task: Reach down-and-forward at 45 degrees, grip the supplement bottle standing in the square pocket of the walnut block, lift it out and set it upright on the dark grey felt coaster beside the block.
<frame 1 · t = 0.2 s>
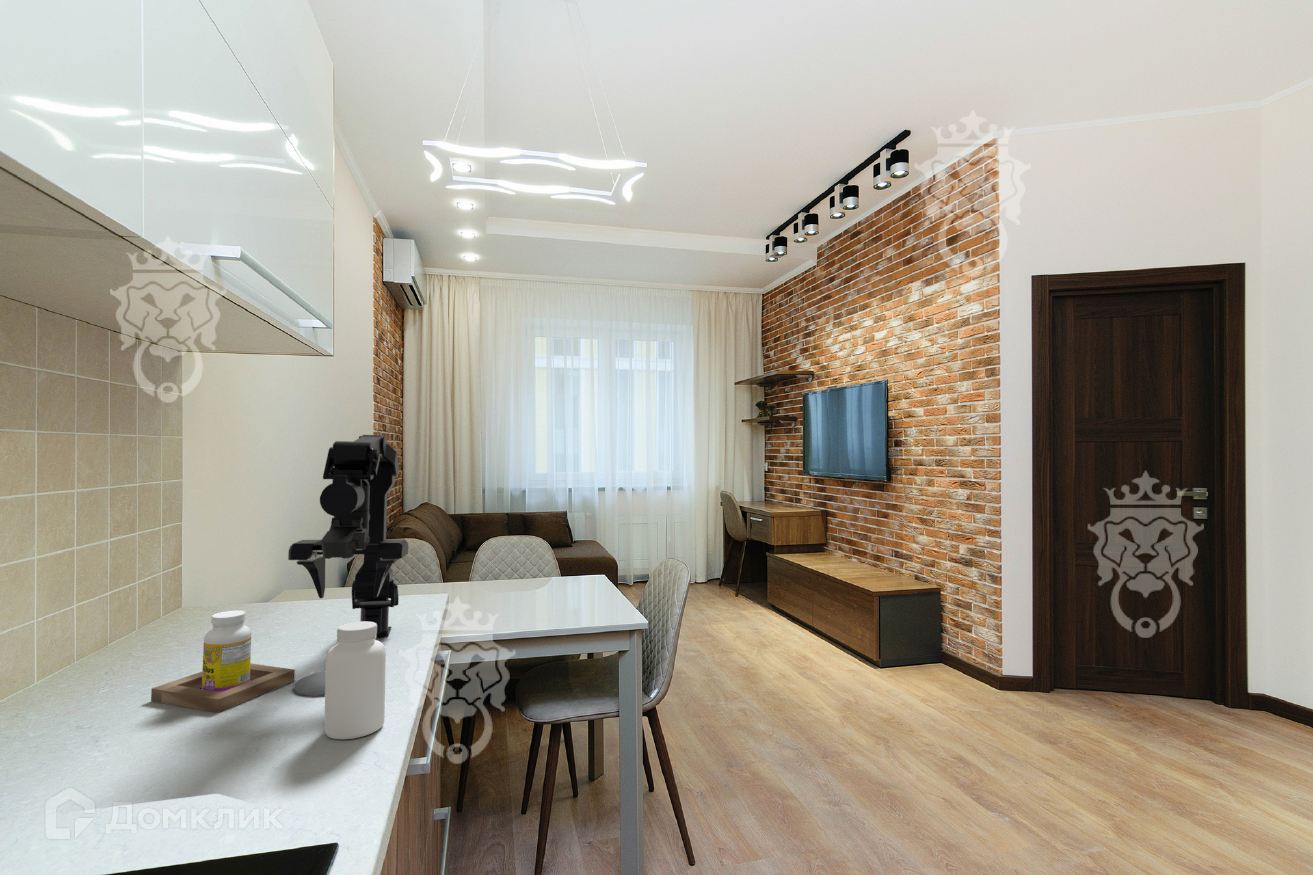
hand: (349, 597, 111), 14 cm above the counter, tool pointing down, fingers open, 9 cm apart
pocket block: (225, 690, 103), on the counter
coaster: (330, 683, 107), on the counter
pill bottle: (354, 730, 90), on the counter
supplement bottle: (225, 691, 103), resting in pocket block
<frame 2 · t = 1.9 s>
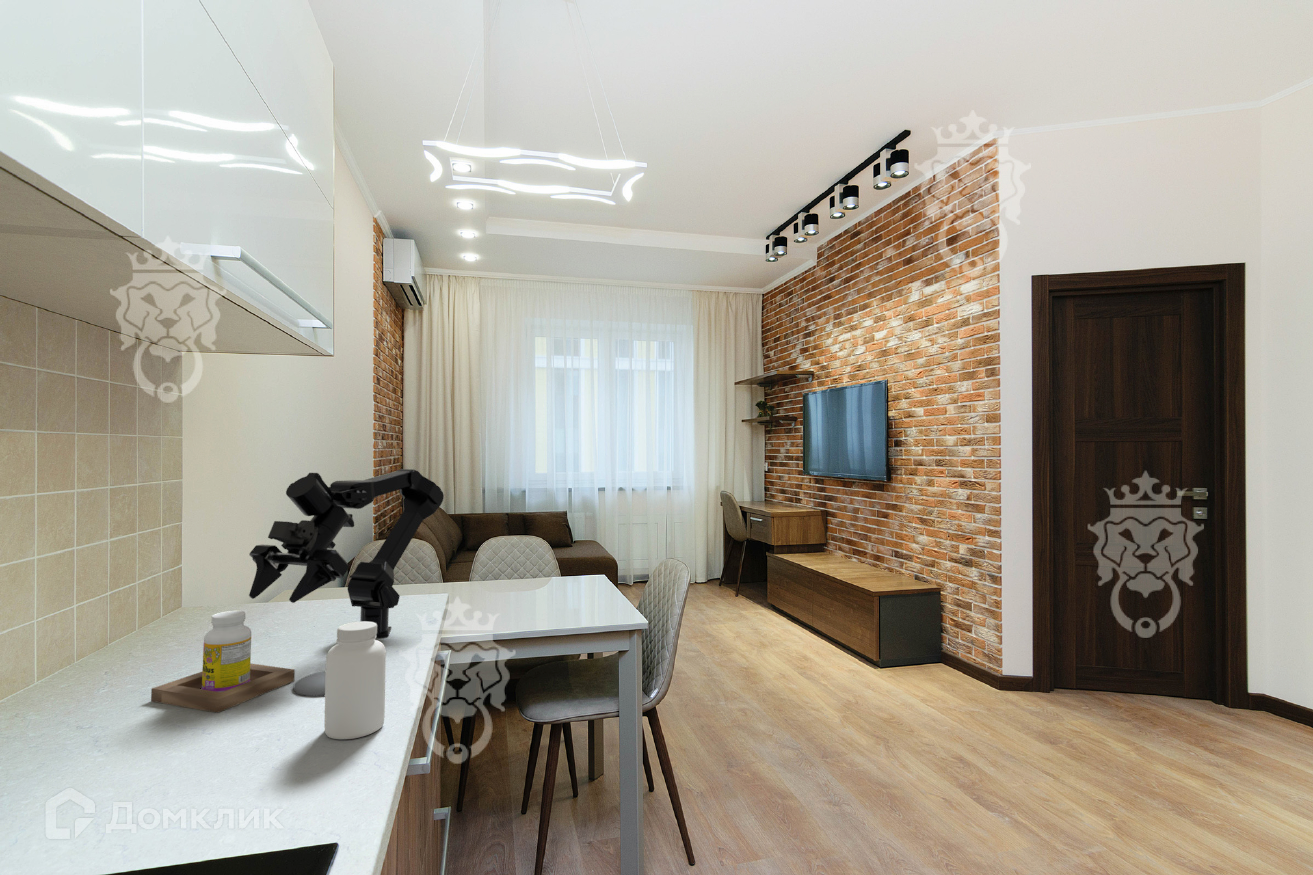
hand: (270, 599, 111), 13 cm above the counter, tool tilted 45°, fingers open, 9 cm apart
nothing on the counter moved.
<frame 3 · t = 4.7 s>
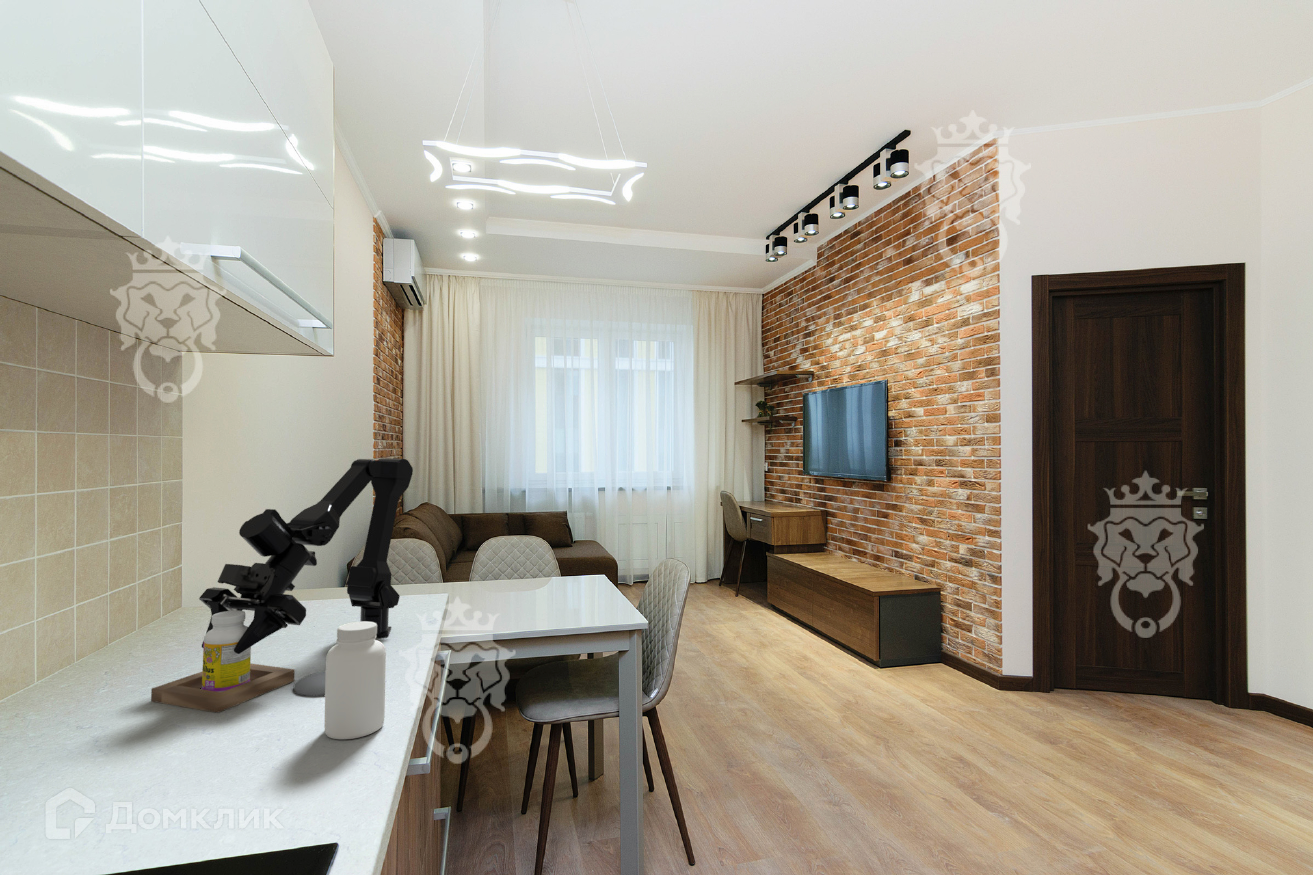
hand: (219, 650, 102), 7 cm above the counter, tool tilted 45°, fingers closed on supplement bottle, 7 cm apart
supplement bottle: (225, 691, 103), resting in pocket block, touching gripper
everything else where it was.
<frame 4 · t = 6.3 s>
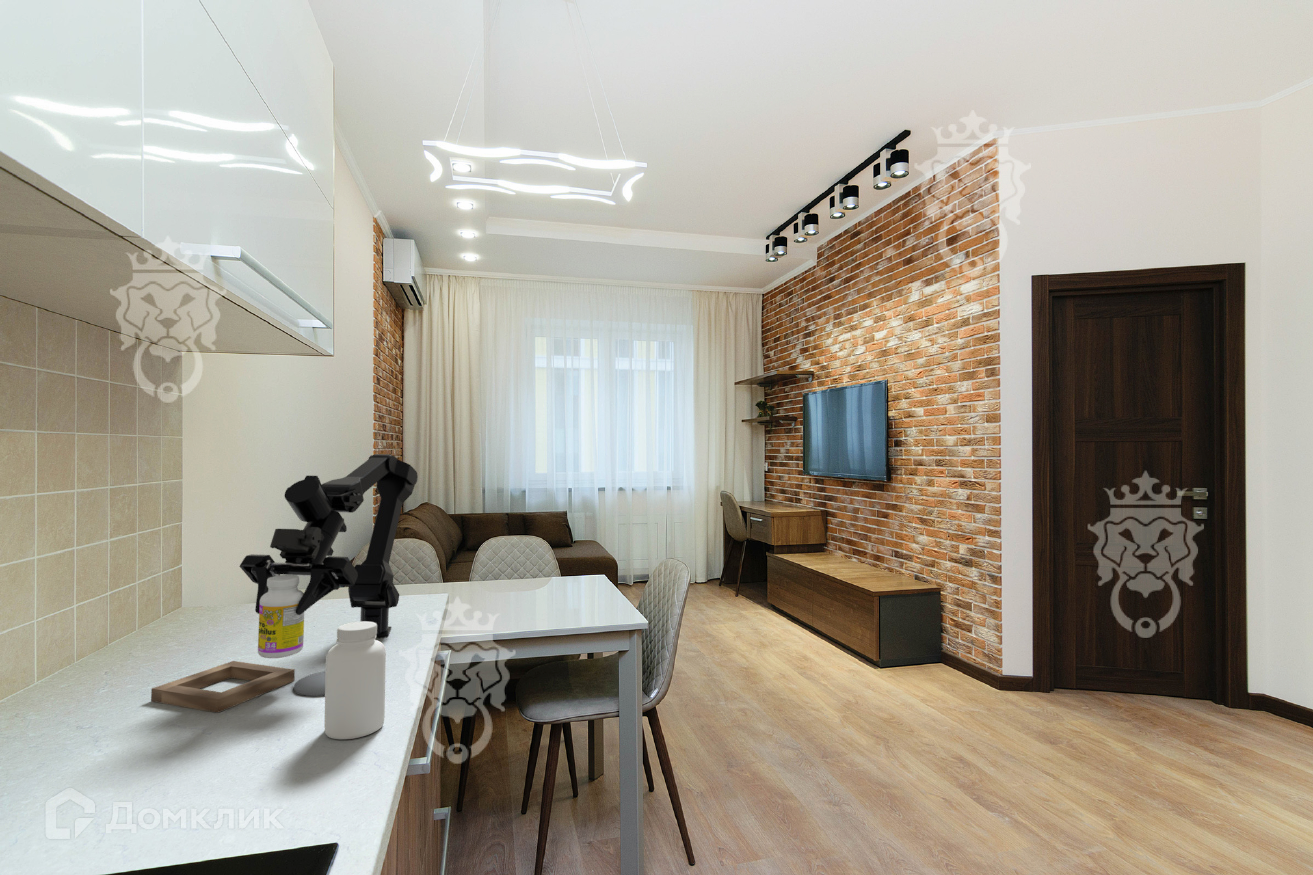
hand: (277, 613, 104), 13 cm above the counter, tool tilted 45°, fingers closed on supplement bottle, 7 cm apart
supplement bottle: (280, 654, 105), point 6 cm above the counter, touching gripper
everything else where it was.
when the fingers open (8 cm above the counter, at t = 8.2 s): supplement bottle stays where it is, resting on coaster.
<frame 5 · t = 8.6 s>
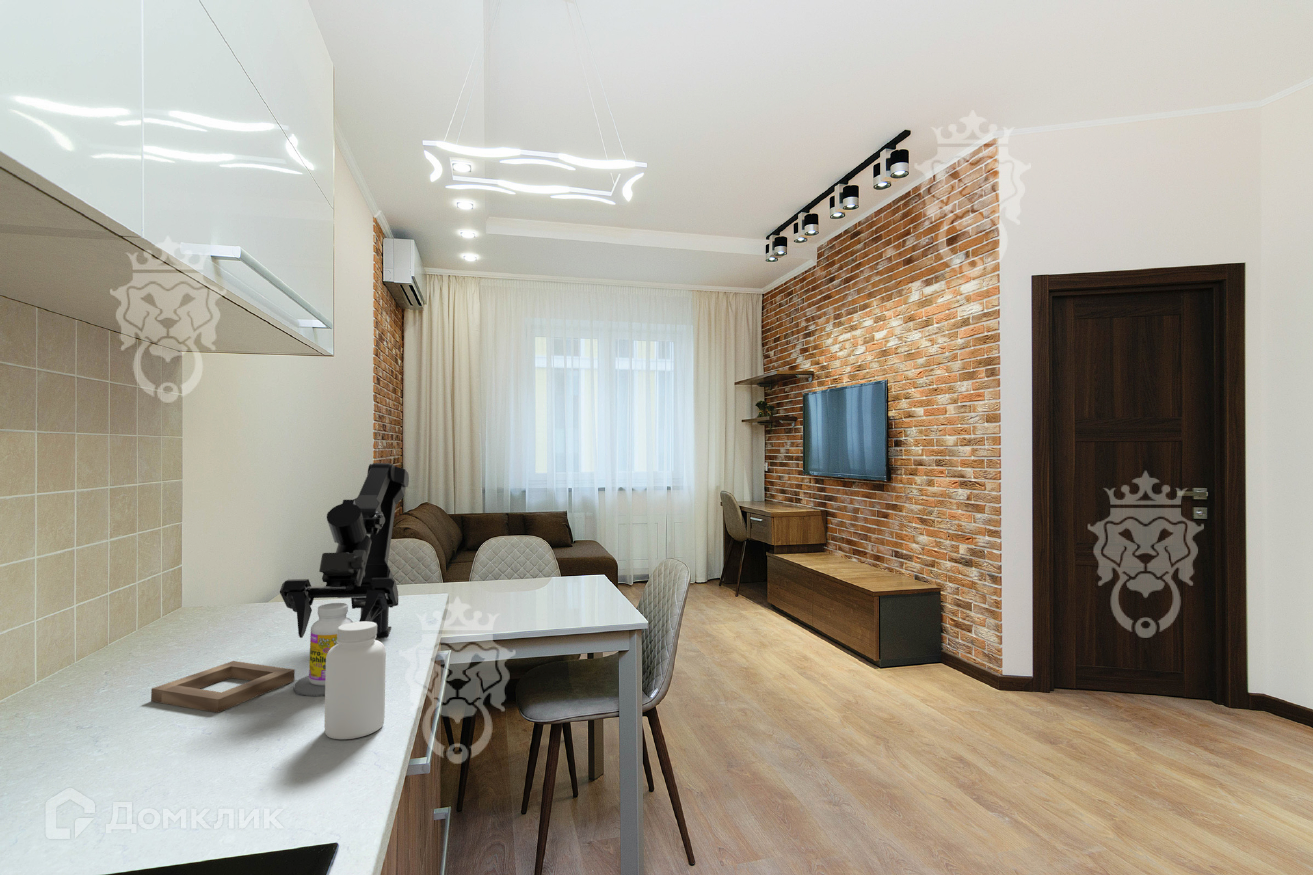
hand: (329, 635, 106), 9 cm above the counter, tool tilted 45°, fingers open, 9 cm apart
supplement bottle: (330, 681, 107), resting on coaster
everything else where it was.
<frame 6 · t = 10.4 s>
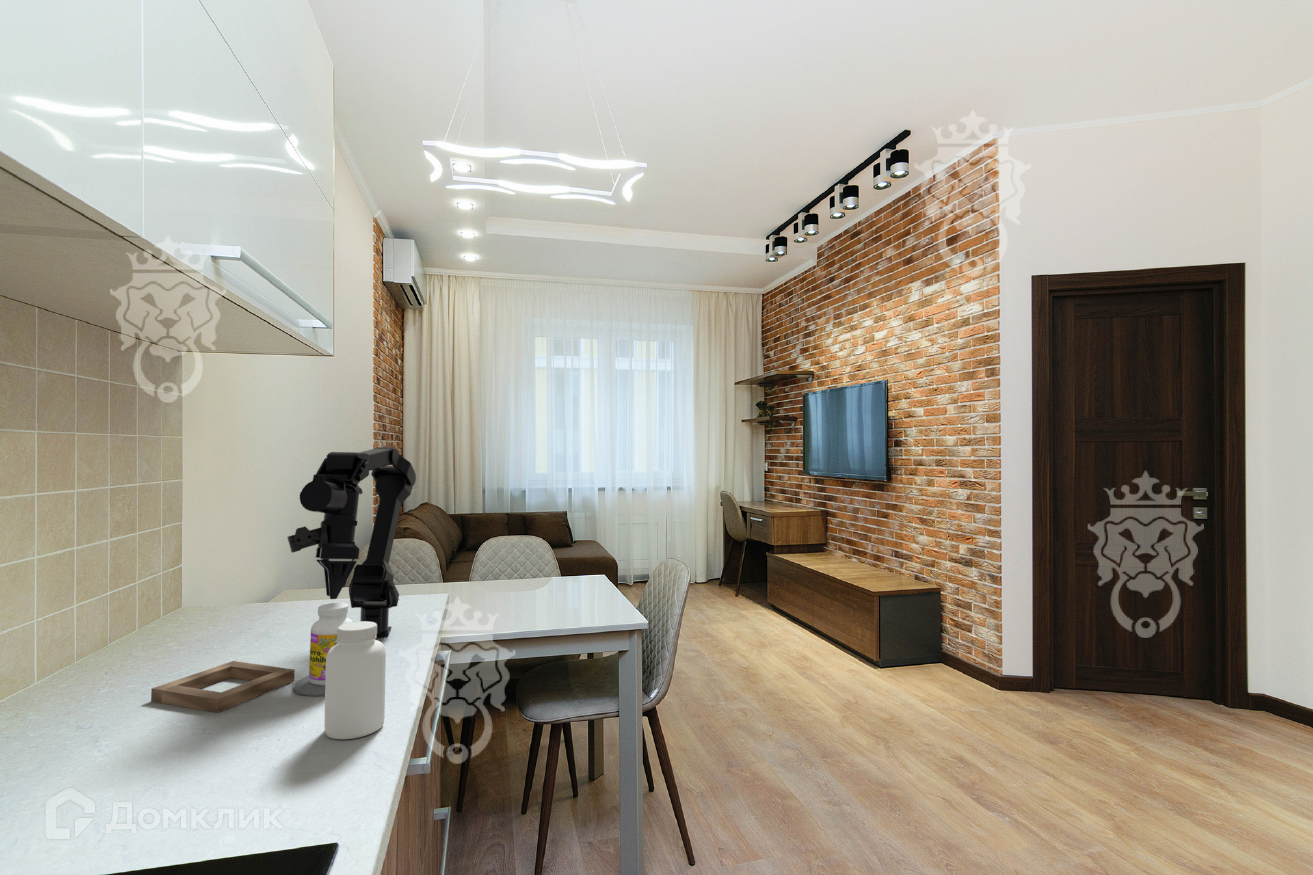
hand: (331, 597, 117), 13 cm above the counter, tool pointing down, fingers open, 9 cm apart
nothing on the counter moved.
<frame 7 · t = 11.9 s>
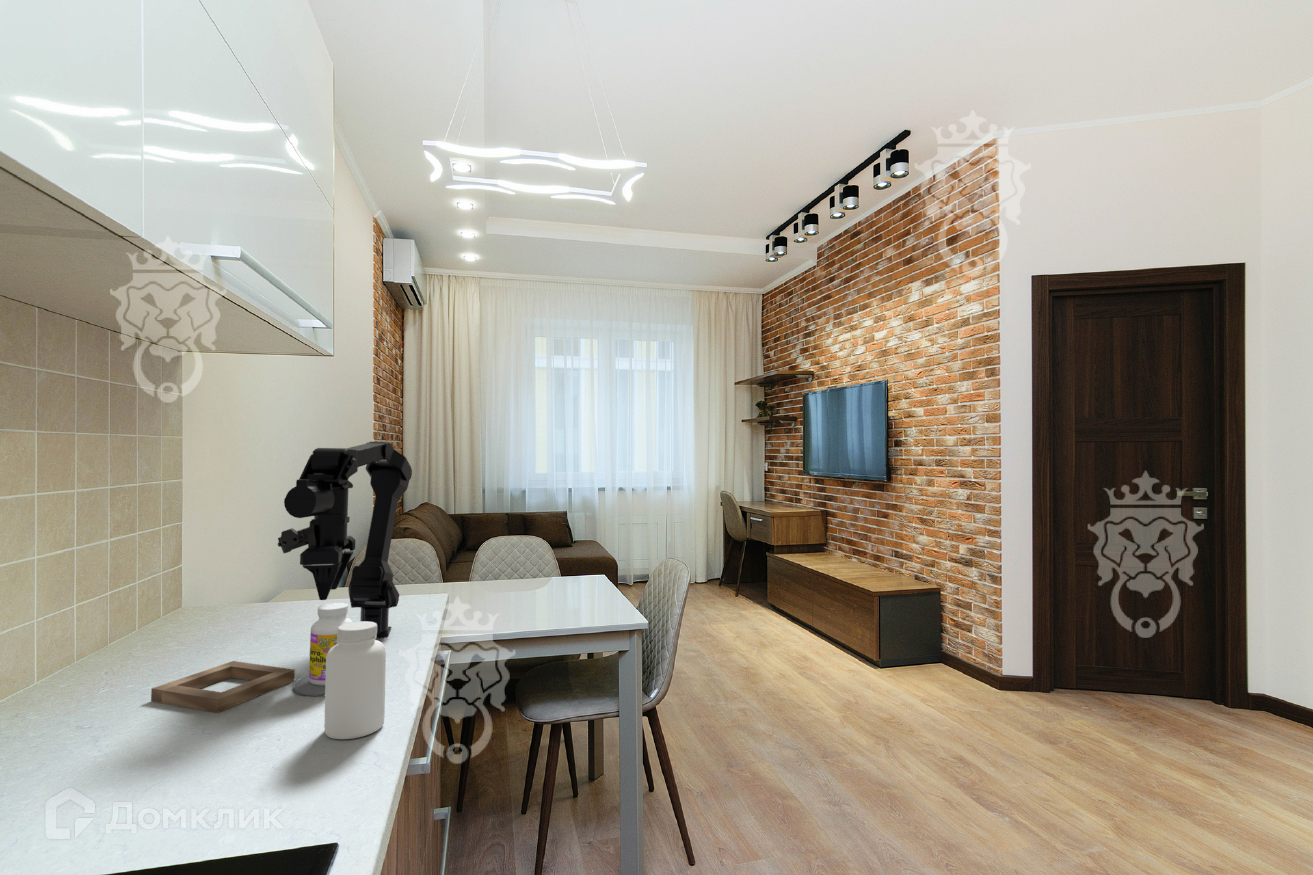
hand: (328, 594, 118), 13 cm above the counter, tool pointing down, fingers open, 9 cm apart
nothing on the counter moved.
at the end: supplement bottle 0.2 cm from the coaster (horizontally); supplement bottle tilted 0°; the gripper is holding nothing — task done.
